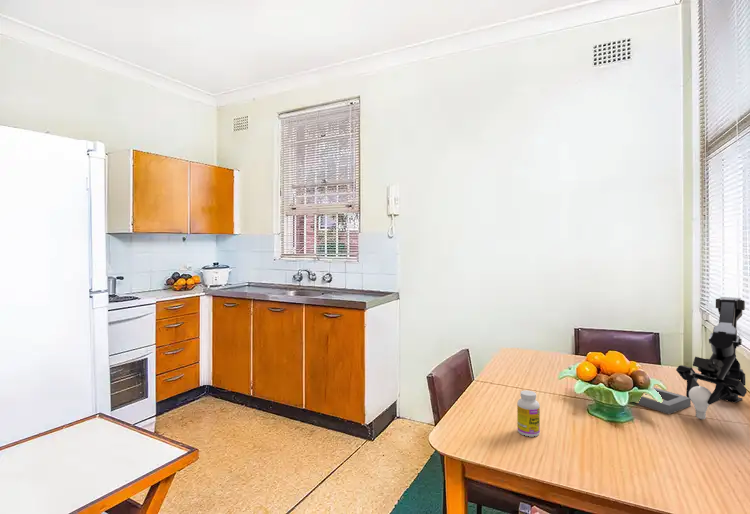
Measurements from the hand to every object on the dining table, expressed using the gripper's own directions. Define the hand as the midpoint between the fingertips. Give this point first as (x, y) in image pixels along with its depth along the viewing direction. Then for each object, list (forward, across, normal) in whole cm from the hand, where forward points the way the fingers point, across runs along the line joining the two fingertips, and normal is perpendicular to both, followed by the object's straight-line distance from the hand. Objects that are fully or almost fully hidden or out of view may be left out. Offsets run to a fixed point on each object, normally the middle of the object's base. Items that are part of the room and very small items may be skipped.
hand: (697, 400), depth 137 cm
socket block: (+2, -14, +7) cm, 16 cm away
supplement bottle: (+45, -14, -36) cm, 59 cm away
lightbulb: (+4, 0, +6) cm, 7 cm away
